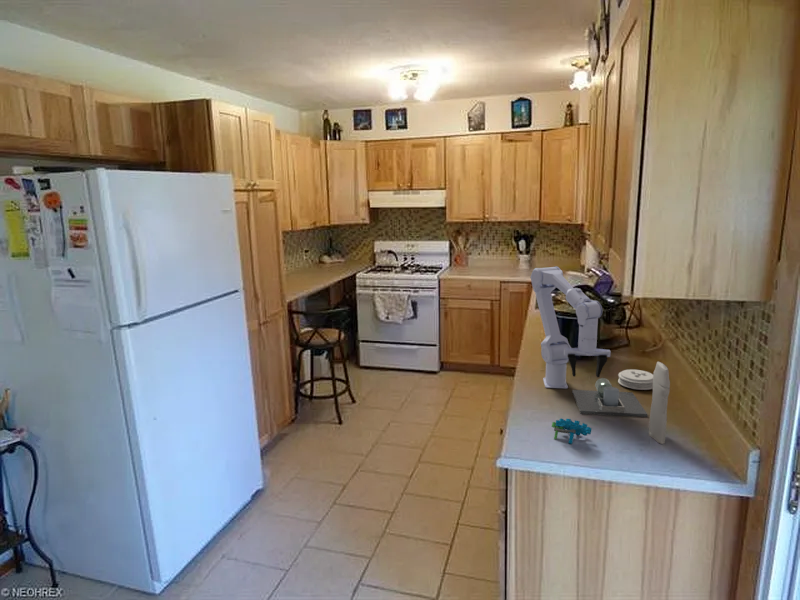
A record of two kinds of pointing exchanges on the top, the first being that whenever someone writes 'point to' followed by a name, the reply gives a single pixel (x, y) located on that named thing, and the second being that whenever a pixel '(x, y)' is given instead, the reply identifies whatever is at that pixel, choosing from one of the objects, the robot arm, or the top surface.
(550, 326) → the robot arm
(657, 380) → the tall pale column
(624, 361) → the top surface
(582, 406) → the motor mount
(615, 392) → the grey rounded capsule
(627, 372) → the lid
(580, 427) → the teal bumpy piece
